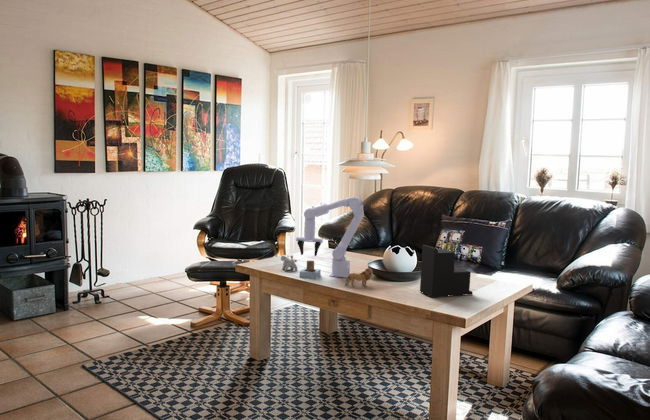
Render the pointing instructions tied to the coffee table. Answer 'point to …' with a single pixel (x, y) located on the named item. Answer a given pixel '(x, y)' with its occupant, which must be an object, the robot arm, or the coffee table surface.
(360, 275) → the lion figurine
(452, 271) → the bookend
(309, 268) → the peg
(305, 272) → the socket
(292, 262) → the elephant statuette
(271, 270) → the coffee table surface
